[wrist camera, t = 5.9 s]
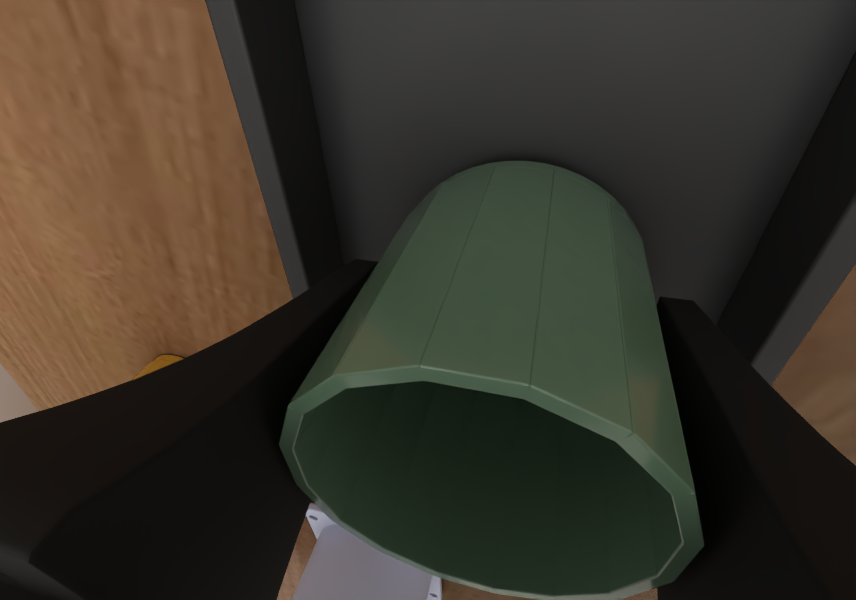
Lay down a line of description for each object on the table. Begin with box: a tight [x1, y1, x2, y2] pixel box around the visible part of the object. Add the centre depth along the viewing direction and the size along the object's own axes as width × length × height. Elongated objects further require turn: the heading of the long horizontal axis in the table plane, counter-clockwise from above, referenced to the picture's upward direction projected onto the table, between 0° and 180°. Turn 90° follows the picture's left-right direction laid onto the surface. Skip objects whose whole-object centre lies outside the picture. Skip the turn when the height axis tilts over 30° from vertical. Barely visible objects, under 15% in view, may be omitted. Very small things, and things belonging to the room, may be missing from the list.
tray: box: [205, 0, 856, 386], centre depth 11 cm, size 16×11×2 cm
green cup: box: [279, 161, 705, 600], centre depth 9 cm, size 6×6×6 cm
